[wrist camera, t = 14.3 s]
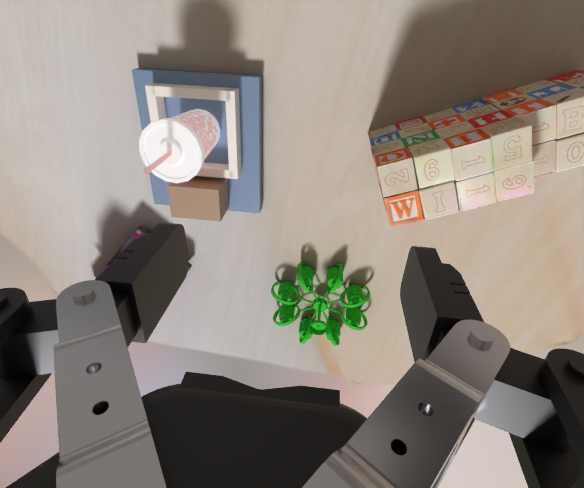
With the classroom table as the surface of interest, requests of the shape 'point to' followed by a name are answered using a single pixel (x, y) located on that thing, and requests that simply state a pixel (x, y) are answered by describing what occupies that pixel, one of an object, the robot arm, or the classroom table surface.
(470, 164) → the stack of blocks
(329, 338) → the chandelier
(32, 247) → the classroom table surface
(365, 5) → the classroom table surface
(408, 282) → the robot arm
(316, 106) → the classroom table surface
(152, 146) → the beverage cup
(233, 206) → the blue square tray
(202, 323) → the classroom table surface
